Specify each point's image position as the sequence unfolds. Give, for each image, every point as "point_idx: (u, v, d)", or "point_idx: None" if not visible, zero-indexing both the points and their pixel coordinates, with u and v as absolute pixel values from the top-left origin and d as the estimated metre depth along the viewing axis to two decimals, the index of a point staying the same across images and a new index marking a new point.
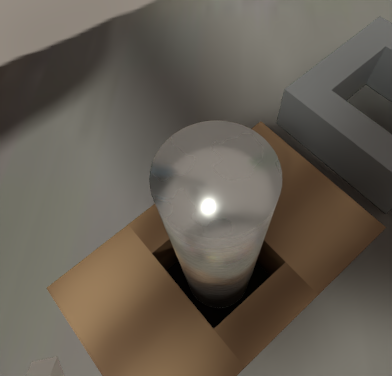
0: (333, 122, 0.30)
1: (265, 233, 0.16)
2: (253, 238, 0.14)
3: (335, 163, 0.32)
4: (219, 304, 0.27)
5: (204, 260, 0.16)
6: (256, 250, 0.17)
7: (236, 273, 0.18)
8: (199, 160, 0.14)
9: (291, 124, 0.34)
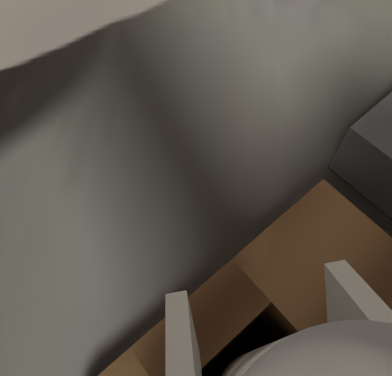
0: None
1: None
2: None
3: None
4: None
5: None
6: None
7: None
8: None
9: (352, 171, 0.25)
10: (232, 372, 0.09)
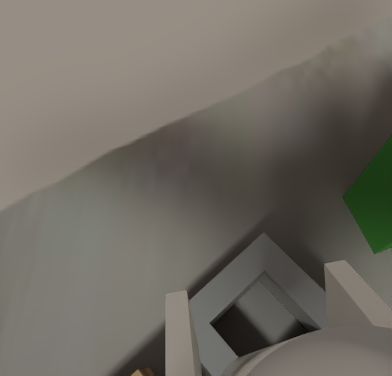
0: (206, 363, 0.33)
1: None
2: None
3: None
4: None
5: None
6: None
7: None
8: None
9: None
10: (232, 375, 0.09)
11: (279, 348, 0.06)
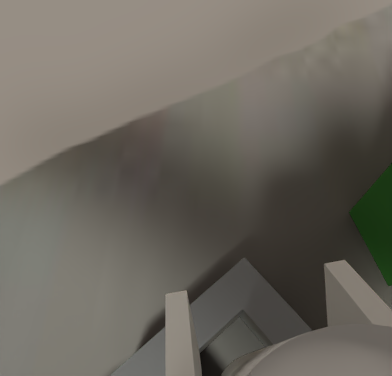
0: None
1: None
2: None
3: None
4: None
5: None
6: None
7: None
8: None
9: None
10: (233, 375, 0.09)
11: (280, 347, 0.06)
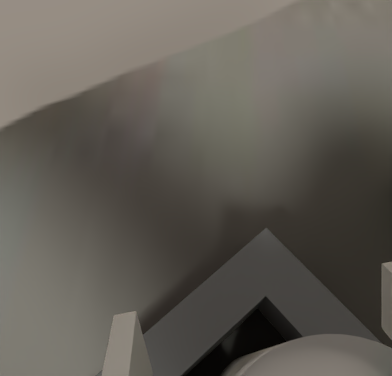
0: None
1: None
2: None
3: None
4: None
5: None
6: None
7: None
8: None
9: None
10: (230, 375, 0.10)
11: (268, 352, 0.07)
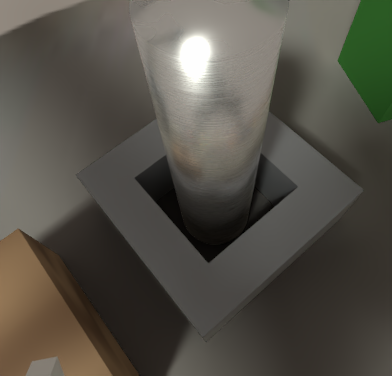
0: (124, 227, 0.22)
1: (267, 97, 0.14)
2: (253, 82, 0.12)
3: None
4: (216, 236, 0.25)
5: (195, 125, 0.13)
6: (257, 125, 0.14)
7: (233, 164, 0.16)
8: None
9: None
10: None
11: None
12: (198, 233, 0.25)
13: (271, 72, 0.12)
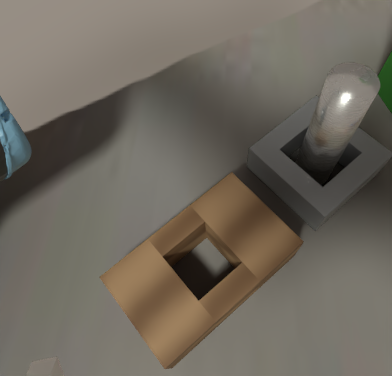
0: (279, 172, 0.46)
1: None
2: (366, 108, 0.36)
3: (283, 196, 0.49)
4: (317, 179, 0.49)
5: (341, 122, 0.37)
6: (360, 122, 0.38)
7: (346, 138, 0.40)
8: (346, 76, 0.36)
9: (255, 169, 0.50)
10: None
11: None
12: None
13: None
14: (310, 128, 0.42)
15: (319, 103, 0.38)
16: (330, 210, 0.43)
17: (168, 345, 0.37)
